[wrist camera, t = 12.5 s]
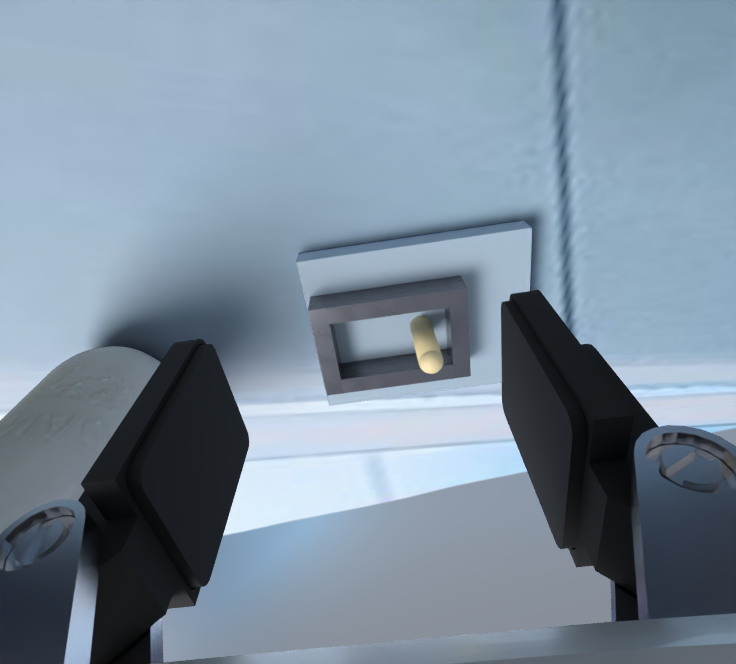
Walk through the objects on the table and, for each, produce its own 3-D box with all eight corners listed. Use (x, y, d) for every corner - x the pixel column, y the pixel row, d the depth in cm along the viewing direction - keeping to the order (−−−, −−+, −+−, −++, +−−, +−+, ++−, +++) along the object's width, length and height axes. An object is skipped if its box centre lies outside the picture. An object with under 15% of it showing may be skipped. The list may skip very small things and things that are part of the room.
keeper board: (523, 220, 36) (567, 257, 29) (519, 366, 43) (554, 426, 36) (298, 253, 37) (286, 297, 30) (330, 392, 44) (325, 456, 36)
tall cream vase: (95, 417, 44) (-219, 839, 20) (64, 323, 39) (-405, 732, 15) (199, 417, 45) (19, 830, 20) (182, 324, 40) (-85, 724, 15)
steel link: (460, 275, 36) (467, 288, 34) (464, 359, 40) (470, 376, 38) (310, 296, 37) (307, 310, 34) (328, 378, 41) (327, 395, 38)
